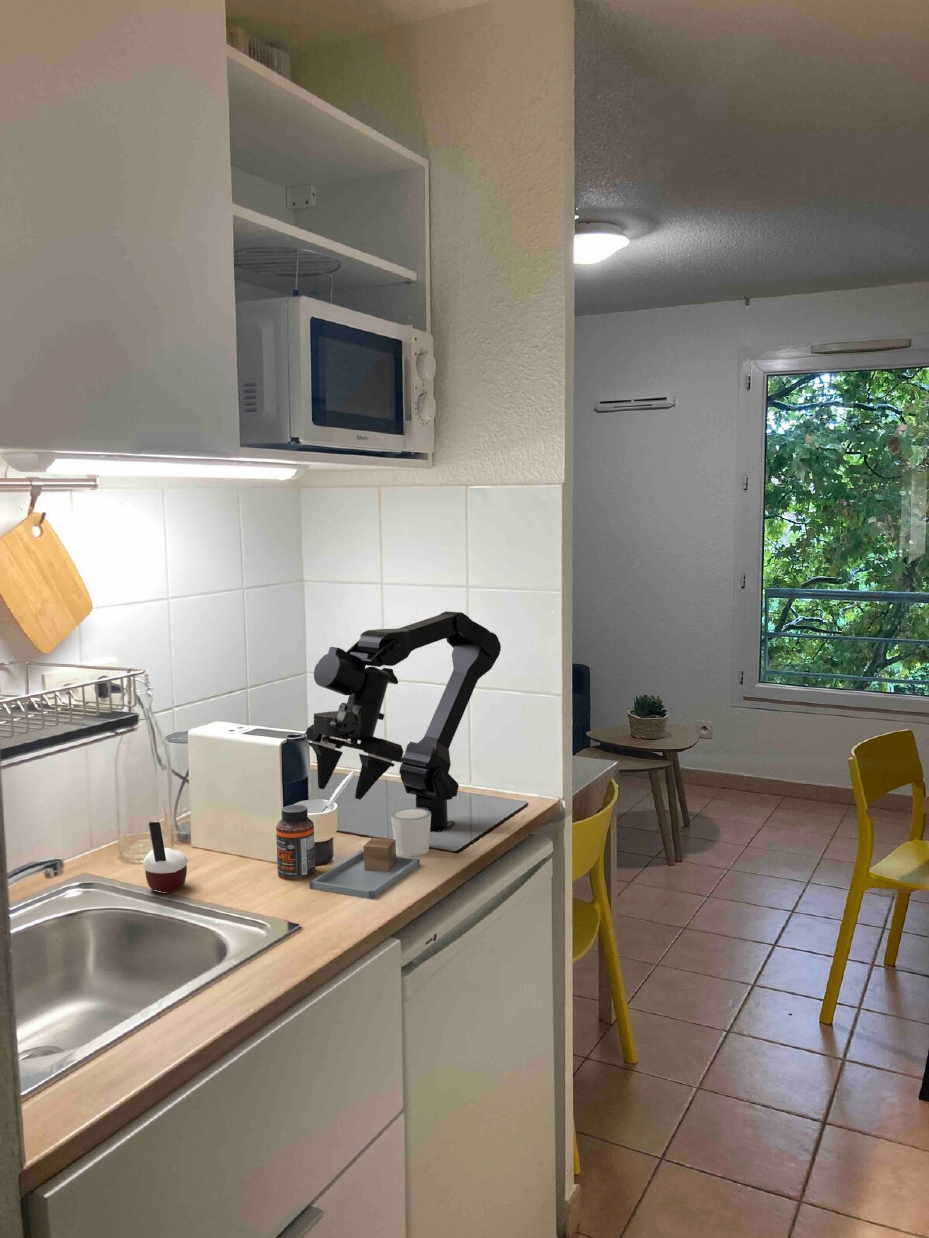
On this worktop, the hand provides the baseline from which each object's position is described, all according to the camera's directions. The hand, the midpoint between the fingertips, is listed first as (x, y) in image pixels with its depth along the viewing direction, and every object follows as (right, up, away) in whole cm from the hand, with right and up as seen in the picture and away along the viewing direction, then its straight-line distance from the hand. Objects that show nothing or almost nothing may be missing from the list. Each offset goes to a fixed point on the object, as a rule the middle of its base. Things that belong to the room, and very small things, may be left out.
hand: (339, 793), depth 164 cm
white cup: (+12, -11, +4) cm, 17 cm away
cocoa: (-25, -13, -10) cm, 30 cm away
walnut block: (+7, -11, -4) cm, 14 cm away
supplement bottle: (-6, -12, -6) cm, 15 cm away
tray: (+5, -12, -8) cm, 16 cm away
